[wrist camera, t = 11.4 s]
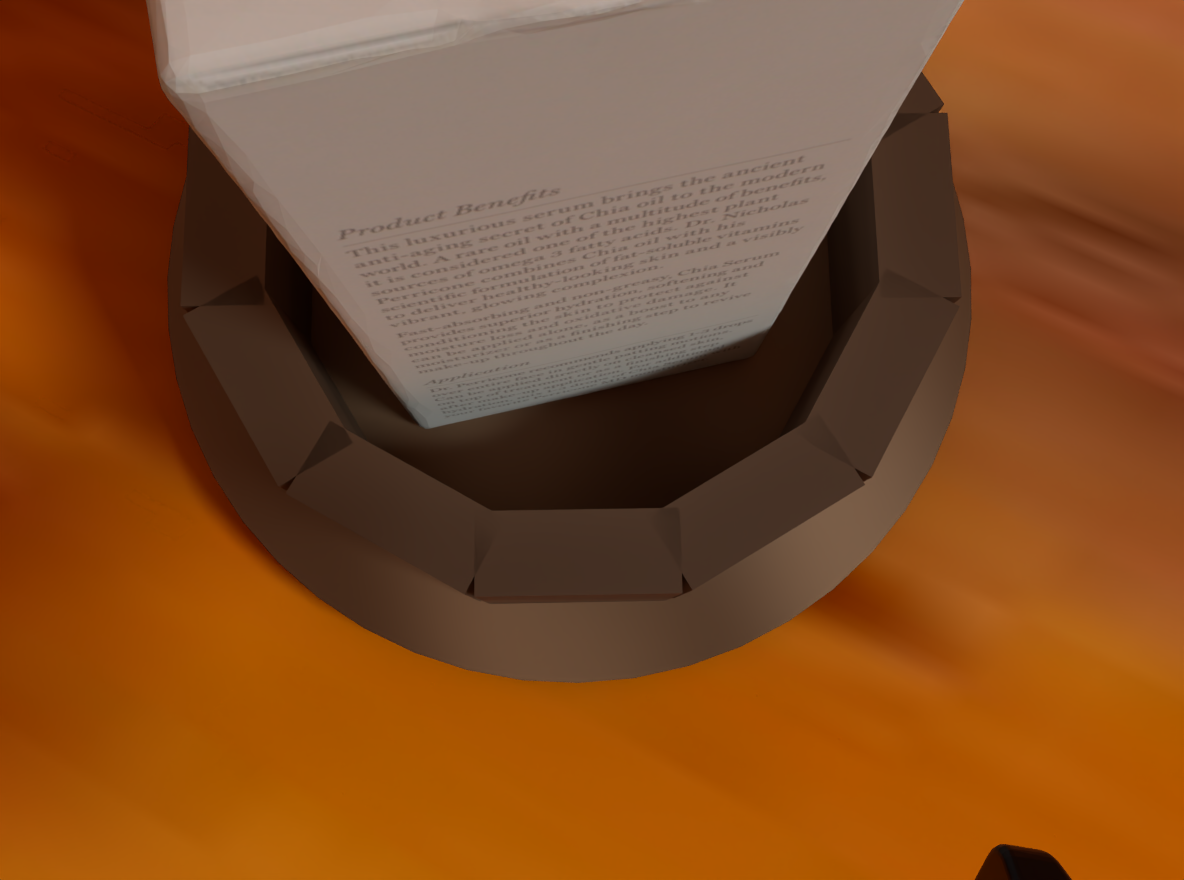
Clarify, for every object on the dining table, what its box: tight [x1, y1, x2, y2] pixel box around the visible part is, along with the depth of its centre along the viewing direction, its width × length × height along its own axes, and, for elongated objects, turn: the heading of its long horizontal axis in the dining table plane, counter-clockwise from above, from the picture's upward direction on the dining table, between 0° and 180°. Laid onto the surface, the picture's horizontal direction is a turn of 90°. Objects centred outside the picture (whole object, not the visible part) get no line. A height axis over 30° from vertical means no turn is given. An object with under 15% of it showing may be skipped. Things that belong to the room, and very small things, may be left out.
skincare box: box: [146, 0, 964, 429], centre depth 14 cm, size 6×4×12 cm
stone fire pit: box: [168, 72, 971, 683], centre depth 19 cm, size 14×14×4 cm
